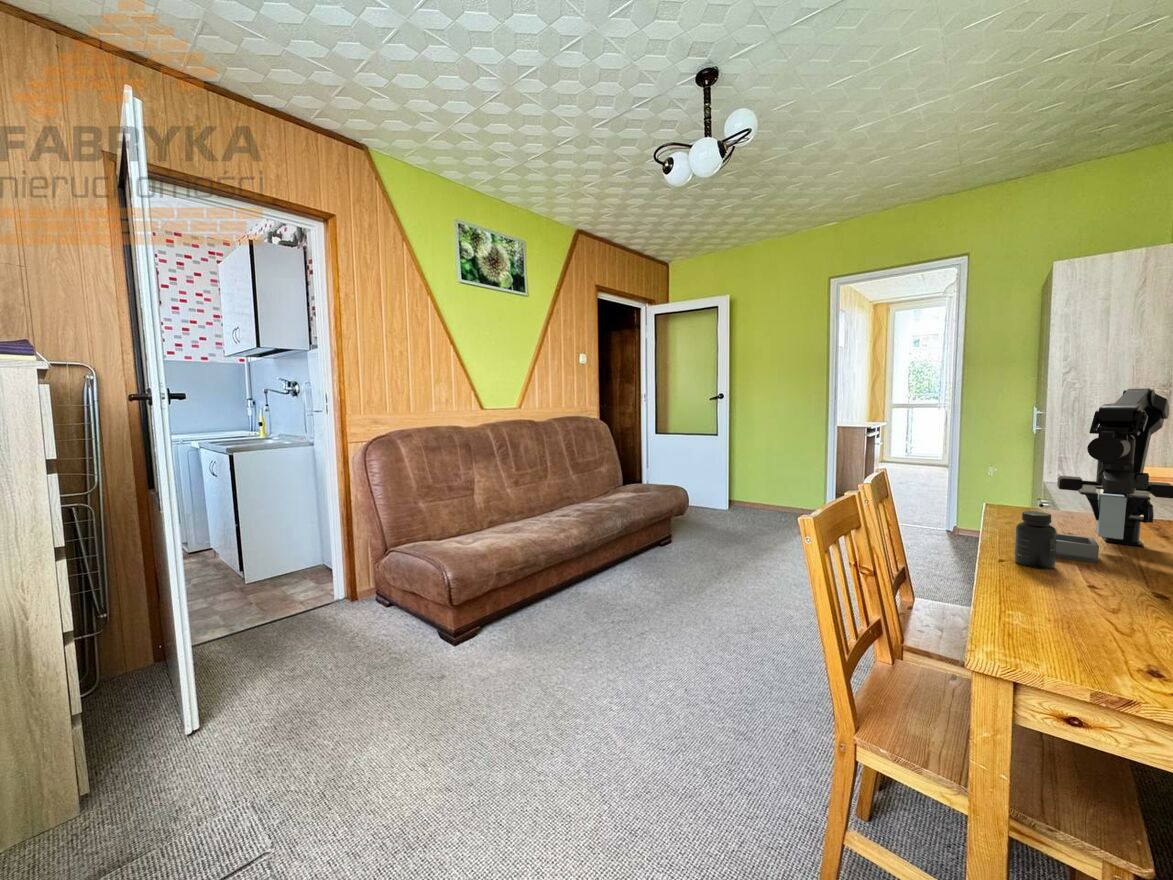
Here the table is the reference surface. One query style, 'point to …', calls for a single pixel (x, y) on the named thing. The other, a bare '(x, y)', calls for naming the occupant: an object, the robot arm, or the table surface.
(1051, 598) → the table surface
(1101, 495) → the blue-grey block
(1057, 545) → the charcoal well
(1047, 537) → the supplement bottle
